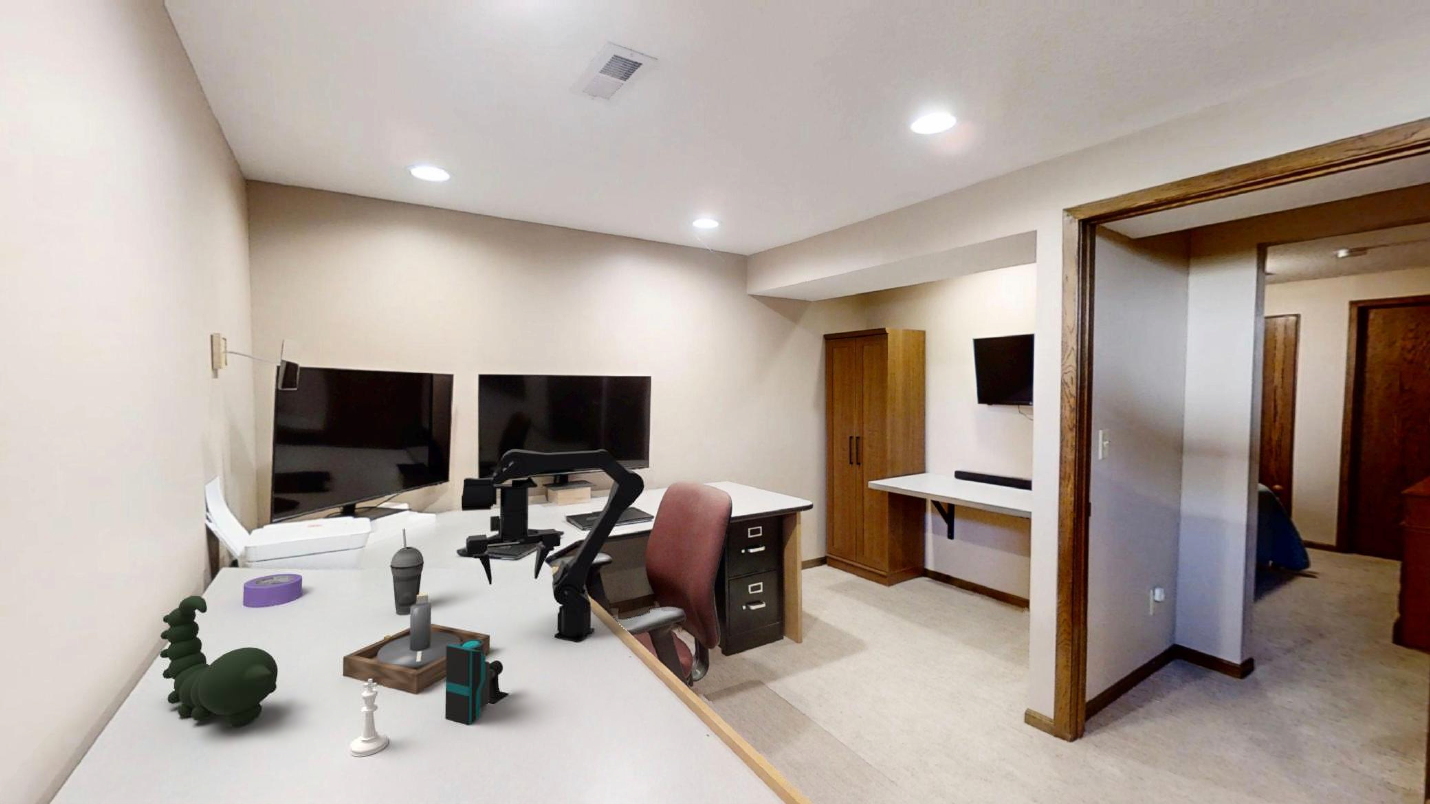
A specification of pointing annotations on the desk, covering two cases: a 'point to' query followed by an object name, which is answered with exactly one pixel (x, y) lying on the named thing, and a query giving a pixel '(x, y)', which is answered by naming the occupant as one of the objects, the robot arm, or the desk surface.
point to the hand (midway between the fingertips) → (513, 581)
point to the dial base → (399, 677)
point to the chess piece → (369, 727)
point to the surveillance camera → (470, 681)
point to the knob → (418, 640)
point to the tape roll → (272, 590)
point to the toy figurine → (214, 672)
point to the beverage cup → (406, 577)
